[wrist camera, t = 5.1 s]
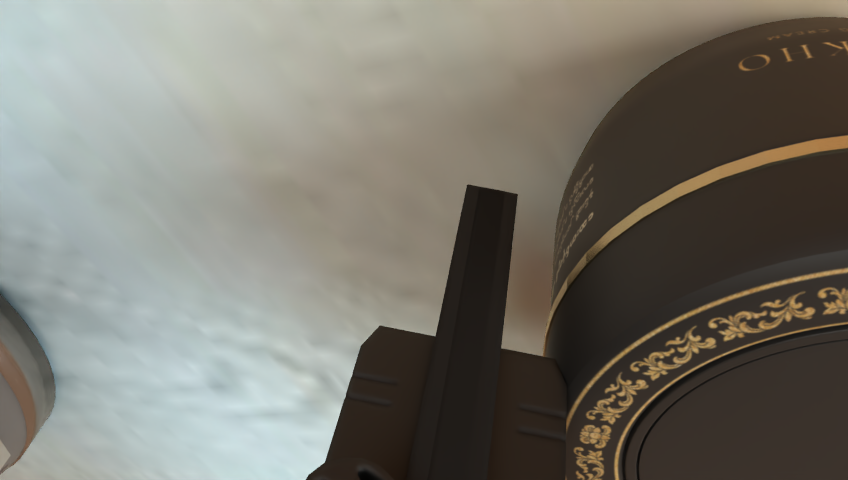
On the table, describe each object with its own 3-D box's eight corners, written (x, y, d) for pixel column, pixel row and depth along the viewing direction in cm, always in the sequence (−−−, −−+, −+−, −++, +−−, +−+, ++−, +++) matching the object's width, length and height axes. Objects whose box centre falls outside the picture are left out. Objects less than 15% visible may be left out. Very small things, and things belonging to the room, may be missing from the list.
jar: (1137, -2, 13) (1564, 290, 7) (905, 356, 20) (1036, 659, 14) (580, -28, 14) (574, 200, 9) (537, 314, 21) (517, 573, 15)
